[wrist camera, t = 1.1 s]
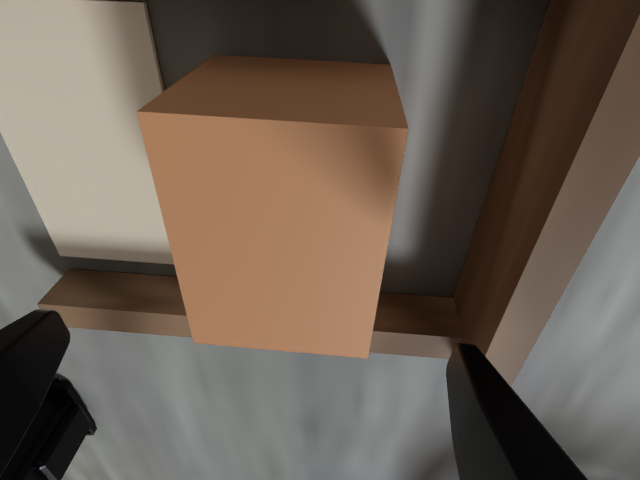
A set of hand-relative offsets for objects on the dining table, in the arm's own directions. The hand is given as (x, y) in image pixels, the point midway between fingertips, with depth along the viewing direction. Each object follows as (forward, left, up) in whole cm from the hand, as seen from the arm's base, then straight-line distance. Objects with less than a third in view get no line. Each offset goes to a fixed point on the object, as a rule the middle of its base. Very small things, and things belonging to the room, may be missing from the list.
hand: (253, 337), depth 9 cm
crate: (0, 0, -9) cm, 9 cm away
